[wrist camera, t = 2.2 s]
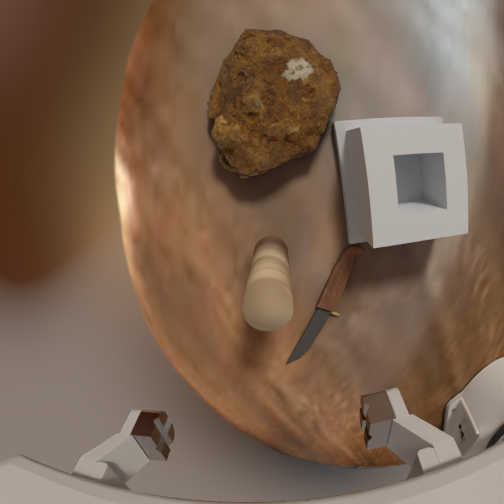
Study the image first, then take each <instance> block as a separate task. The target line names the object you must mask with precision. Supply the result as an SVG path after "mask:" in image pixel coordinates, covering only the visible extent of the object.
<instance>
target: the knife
mask: <svg viewBox="0 0 504 504" xmlns="http://www.w3.org/2000/svg"><path fill="white" fill-rule="evenodd" d="M362 251H363V247H361V246H356V245H351V246H348V247H347V248H346V249H345V250H344V251H343V253H342V254H341V255H340V257H339V259H338V260H337V262H336V264H335V265H334V267H333V269H332V271H331V273H330V275H329V278H328V280H327V282H326V284H325V286H324V289H323V291H322V293H321V295H320V297H319V299H318V301H317V304H316V306H317V309H316V310H315V312H314V314H313V316H312V318H311V320H310V322H309V324H308V325H307V327H306V329H305V331H304V333H303V335H302V336H301V338H300V340H299V342H298V344H297V345H296V347H295V349H294V351H293V353H292V354H291V356H290V358H289V360H288V361H287V363H286V364H288V363H290V362H292V361H295V360H297V359H299V358H300V357H301V356H303V355H304V354H305V353H306V352H307V351H308V350H309V348H310V347H311V345H312V344H313V342H314V340H315V339H316V337H317V335H318V334H319V332H320V330H321V329H322V327H323V325H324V323H325V322H326V320H327V318H328V317H329V315H330V313H331V314H334V315H337V316H339V313H337V312H333V311H334V309H335V307H336V305H337V303H338V301H339V299H340V297H341V295H342V293H343V291H344V289H345V286H346V283H347V281H348V278H349V275H350V272H351V269H352V266H353V263H354V260H355V257H356V255H361V253H362Z"/></svg>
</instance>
